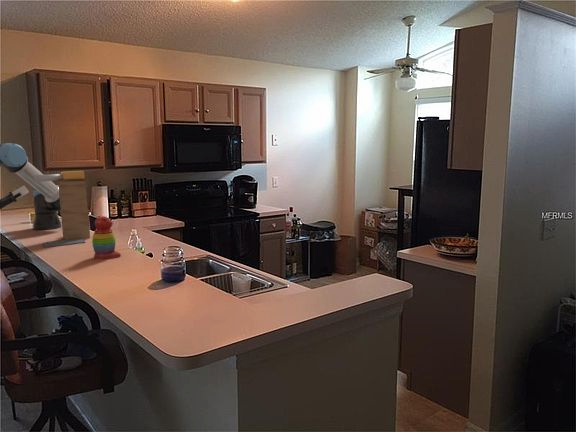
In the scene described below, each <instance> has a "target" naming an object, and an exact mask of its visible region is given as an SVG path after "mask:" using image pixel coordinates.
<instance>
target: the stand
mask: <svg viewBox="0 0 576 432" xmlns="http://www.w3.org/2000/svg"><path fill="white" fill-rule="evenodd" d="M57 185H58V187H59V198H60V209H61V211H60V218H61V220H60V221H61V231H62V240H72V239H81V238H82V239H83V240H86V239H87V240H88V239H91V228H90V229H89V222H90V216H89V217H88V215H89V209H88V196H87V195H88V193H87V186H86V185H87V184H86V178H84V179H64V180H57Z"/></svg>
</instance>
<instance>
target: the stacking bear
mask: <svg viewBox="0 0 576 432" xmlns="http://www.w3.org/2000/svg"><path fill="white" fill-rule="evenodd" d="M113 223H114V222H113V221H112V220H111V219H110V217H108V216H104V215H103V216H100V215H98V216H97V217H96V219H95V221H94V227H95V231H94V232H93V235H92V248H93V251H94V254H93V255H94V256H93V258H94V259H96V260H107V259H109V260H111V259H116V258H120V257H121V255H122V254H121V253H120V252H118V251H116V250H115V249H116V244H117V243H116V237H115V234H114V231H113V229H111V228H112V226H113Z"/></svg>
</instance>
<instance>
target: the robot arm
mask: <svg viewBox="0 0 576 432" xmlns="http://www.w3.org/2000/svg"><path fill="white" fill-rule="evenodd" d="M26 153H27V152H26V150H25V149H24V148H23V147H22V146H21V145H20V144H17V143H11V142H6V143H0V167H1V168H4V170H6V171H7V172H9V173H11V174H15V175H18V177H20V178H21V179H22V180H24V181H25V182H26V183H27V184H29V185H30V187H33V188H34V189H35V190H34V191H33V192H32V200H33V201H32V202H33V208H34V219H33V224H32V229H33V230H35V231H36V230H38V231H43V230H44V231H45V230H46V231H48V230H54V229H59V228H62V220H60V217H59V215H58V212H61V209H60V198H59V187H58V184H57V185H56V184H55V183H54V181H42V182H36V178H35V176H36V175H44V174H43V173H42V172H41V171H40V170H39V169H38V168H36V167H35V165H33V164H32V163H31V162H29V157H28V156H27V154H26ZM28 193H30V192H29V189H27V187H26V186H25V185H22V186H20V187H19V188H17V189H15V190H14V191H9V192H8V194H6V195H5V196H4V197H2V198H0V211H1V210H2V209H3V208H5V207H8V206H9V205H11V204H12V203H14V202H15V203H16V202H17V201H18V200H19V199H21V198H22V197H24V196H25V195H27V194H28Z"/></svg>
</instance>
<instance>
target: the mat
mask: <svg viewBox="0 0 576 432" xmlns="http://www.w3.org/2000/svg"><path fill="white" fill-rule="evenodd" d="M79 244H86V241H85V239H82V238H81V239H72V240H64V239H62V240H56V241H48V242H43V244H42V245H43V246H44V248H51V247H52V248H53V247H62V246H69V245H70V246H71V245H79Z"/></svg>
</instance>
